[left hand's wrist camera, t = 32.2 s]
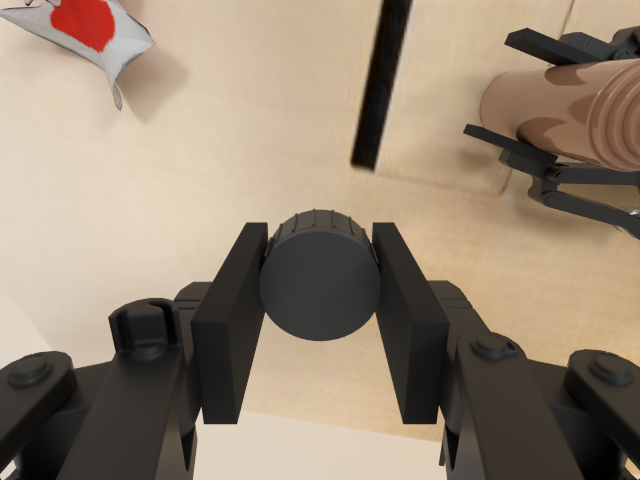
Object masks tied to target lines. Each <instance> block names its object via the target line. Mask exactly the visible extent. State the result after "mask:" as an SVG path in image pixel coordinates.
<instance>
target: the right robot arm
mask: <svg viewBox="0 0 640 480" xmlns="http://www.w3.org/2000/svg"><path fill="white" fill-rule="evenodd" d="M504 44H505V45H507V46H510V47H512V48H515V49H517V50H520V51H522V52H524V53H527V54H529V55H532V56H534V57H537V58H539V59H541V60H544V61H546V62H549V63H551V64H554V65H556V66H561V65H570V64H580V63H590V62H599V61H609V60H619V59H628V58H638V57H640V26H636V27H631V28H626V29H621V30H619V31H617V32H616V33H615V34H614V36H613V39H612V41H611V42H610V43H609V44H608V43H606V42H603V41H601V40H599V39H596V38H593V37H592V36H589V35H587V34H584V33H582V32H574V33H569V34H565V35H561V37H560V39H559V41H557V40H555V39H553V38H550V37H548V36H546V35H543V34H541V33H538V32H536V31H534V30H531V29H529V28H525V29H522V30H519V31H515V32H512V33H509V35H508V37H507V39H506V41H505V43H504ZM463 133H464V134H467V135H470V136H472V137H475V138H478V139H480V140H483V141H486V142H488V143H491V144H494V145H496V146H499V147H502V148H504V149H503V151H502V153H501V155H500V157H499V159H498V160H499V161H500V162H501V163H502V164H504V165H506V166H509V167H511V168H514V169H516V170H519V171H522V172H525V173H527V174H530V175H531V176H532V178H533V184H532V187H530V189H529V190H528V196H529V197H530V198H532V199H533V200H535V201H537V202H539V203H541V204H543V205H545V206H547V207H551V208H554V209H558V210H561V211H565V212H569V213H572V214H576V215H580V216H583V217H587V218H590V219H594V220H598V221H601V222H605V223H608V224H611V225H613V226H614V227H615V228H616V229H617V230H620V231H622V232H624V233H626V234H628V235H630V236H632V237H634V238H637V239H639V240H640V207H639V208H636V207H633V206H629V207H627V208H625V207H623V208H621V209H617V208H615V207H612V206H610V205H607V204H603V203H600V202H596V201H593V200H589V199H586V198H582V197H578V196H575V195H571V194H568V193H564V192H561V191H557V185H560V184H559V183H575V184H615V185H636V186H637V188H638V190H639V193H640V171H632V172H623V171H617V170H613V169H609V168H605V167H602V166H598V165H594V164H590V163H563V162H556V160H557V158H558V156H556V155H554V154H551V153H548V152H546V151H543V150H540V149H538V148H535V147H532V146H530V145H527V144H525V143H522V142H519V141H517V140H514V139H511V138H509V137H506V136H503V135H501V134H498V133H495V132H493V131H490V130H487V129H485V128H482V127H479V126H475V125H470V124H467V125H466V127H465V130H464V132H463Z"/></svg>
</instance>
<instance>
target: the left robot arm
mask: <svg viewBox="0 0 640 480" xmlns="http://www.w3.org/2000/svg"><path fill="white" fill-rule="evenodd" d="M372 244H373V246H374V249H375V252H376V255H377V258H378V261H379V265H378V267H379V270H380V273H381V290H380V301H379V304H378V306H377V308H376V310H375V313H376V317H377V321H378V325H379V329H380V333H381V337H382V341H383V345H384V349H385V353H386V357H387V361H388V365H389V369H390V373H391V377H392V381H393V385H394V389H395V393H396V397H397V401H398V405H399V409H400V413H401V417H402V421H403V424H436V423H437V415H438V408H439V406H440V409H441V411H442V414H443V417H444V419H445V426H444V433H443V440H442V447H441V454H440V460H439V465H440V466H444V463H445V464H446V472H447V480H637V479H636V478H635V477H634V476H633V475H632V474H631V473H630V472H629V471H628V470H627V469H626V467H625V464H626V461H627V459H628V458H629V459H630V460H631V461H632V462H633V463H634V464H635V466H636V467H637V468H638V469H639V470H640V367H638V366H637V365H635V364H634V363H632V362H631V361H629V360H626V359H624V358H622V357H620V356H618V355H616V354H613V353H610V352H608V353H607V352H606V351H601V350H589V349H584V350H579V351H575V352H574V353H573V354H571V355H570V357H569V361H568V364H567V367H563V366H558V365H553V364H548V363H543V362H538V361H534V360H530V359H527V357H526V355H525V353H524V351H523V350H522V349H521V347H520V346H519V345H518V344H517V343H515V342H514V341H512V340H511V339H509V338H508V337H505V336H503V335H500V334H498V333H494V332H490V330H489V329H488V327H487V326H486V325H485V323H484V322H483V320H482V319H481V318H480V316H479V315H478V313H477V312H476V311H475V309H473V306H472V305H471V304H470V302H469V301H468V300H467V298H466V297H465V295H464V294H463V292H462V291H461V290H460V289H459V288H458V287H456V286H455V285H453V284H452V283H450V282H448V281H427V280H426V278H425V277H424V275H423V273H422V271H421V270H420V268H419V266H418V264H417V263H416V261H415V259H414V257H413V255H412V254H411V252H410V250H409V248H408V247H407V245H406V243H405V241H404V240H403V238H402V236H401V234H400V233H399V231H398V229H397V227H396V226H395V224H394V223H373V230H372ZM267 245H268V225H267V223H246V224H245V226H244V228H243V230H242V231H241V233H240V235H239V237H238V238H237V240H236V242H235V244H234V245H233V247H232V249H231V251H230V252H229V254H228V256H227V258H226V259H225V261H224V263H223V265H222V267H221V268H220V270H219V272H218V274H217V275H216V277H215V279H214V281H213V282H192V283H191V284H189V285H188V286H186V287H185V288H183V289H182V290H180V292H179V293H178V294H177V296H176V297H175V299H174V301H172V300H169V299H165V298H148V299H142V300H137V301H134V302H131V303H128V304H125V305H124V306H122V307H120V308H118V309H117V310H115V311H114V312H113V313H112V314H111V315H110V316H109V317H108V319H109V323H110V328H111V332H112V337H113V341H114V346H115V350H116V353H115V355H114V358H113V360H112V361H109V362H105V363H101V364H96V365H91V366H86V367H81V368H76V369H74V367H73V363H72V359H71V357H70V356H68V355H67V354H66V353H63V352H58V351H49V352H39V353H35V354H31V355H27V356H24V357H23V358H21V359H19V360H16V361H14V362H12V363H10V364H8V365H7V366H5V367H4V368H2V369H1V370H0V473H1V472H2V471H3V470H4V469H5V468H6V467H7V466H8V464H9V463H10V462H11V461H12V460H14V463H15V465H16V469H15V470H14V471H13V472H12V473H11V475H10V476H9V477H7V478H6V479H5V480H193V473H194V465H195V456H196V448H197V433H196V426H195V422H196V419H197V417H198V414H199V411H200V409H201V406H202V413H203V420H204V424H237V422H238V418H239V414H240V410H241V406H242V402H243V398H244V394H245V390H246V386H247V382H248V378H249V374H250V370H251V366H252V362H253V358H254V354H255V350H256V346H257V342H258V338H259V334H260V330H261V326H262V322H263V318H264V314H265V310H264V308H263V306H262V303H261V300H260V286H259V275H260V271H261V267H262V264H263V262H264V259H265V258H263V257H264V254H265V251H266V248H267ZM0 480H1V479H0ZM639 480H640V479H639Z"/></svg>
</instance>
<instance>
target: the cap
mask: <svg viewBox="0 0 640 480" xmlns="http://www.w3.org/2000/svg"><path fill="white" fill-rule="evenodd" d="M263 258H265V259H264V262H263V264H262V267H261V271H260V275H259V286H260V300H261V303H262V306H263V308H264V310H265V312H266V313H267V315H268V316H269V317H270V319H271V320H272V321H273V322H274V323H275V324H276V325H277V326H278V327H280V328H281V329H282V330H284V331H285V332H287V333H289V334H291V335H293V336H296V337H298V338H302V339H306V340H312V341H329V340H334V339H339V338H342V337H345V336H347V335H349V334H351V333H353V332H355V331H356V330H358V329H359V328H361V327H362V326H363V325H364V324H365V323H366V322H367V321H368V320H369V319H370V318H371V316H372V315H373V314H374V312H375V310H376V308H377V306H378V304H379V301H380V290H381V273H380V270H379V267H378V265H379V261H378V258H377V255H376V252H375V249H374V246H373V244H372V243H370V241H369V238H368V237H367V235H366V232H365V229H364V228H363V229H362V228H361V227H360V226H359V225H358V224H357V223H356V222H355V221H353V220H352V218H351V217H350V216H349V217H347V216H345V215H343V214H340V213H338V212H334V210H332V211H329V210H315V209H313V210H311V211H306V212H303V213H300V214H297V213H296V214H295V216H293V217H292V218H290V219H288V220H287V221H286V222H284V223H283V224H282V223H281V224H280V226H279V228H278V230H277V231H276V232H275V234H274V235H273V237H270V240H269V242H268V245H267V248H266V251H265V254H264V257H263Z"/></svg>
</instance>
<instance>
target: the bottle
mask: <svg viewBox="0 0 640 480" xmlns="http://www.w3.org/2000/svg"><path fill="white" fill-rule="evenodd" d="M480 117H481V121H482V124H483V126H484V128H485V129H487V130H490V131H493V132H495V133H498V134H501V135H503V136H506V137H509V138H511V139H514V140H517V141H519V142H522V143H525V144H527V145H530V146H532V147H535V148H538V149H540V150H543V151H546V152H550V153H554V154H557V155H561V156H565V157H568V158H572V159H576V160H579V161H583V162H587V163H590V164H594V165H598V166H602V167H605V168H609V169H613V170H617V171H623V172H632V171H640V57H638V58H628V59H619V60H609V61H599V62H590V63H580V64H570V65H561V66H551V67H541V68H532V69H522V70H514V71H510V72H507V73H504V74H502V75H501V76H499V77H498V78H496V79H495V80H494V81H493V82H492V83H491V84H490V85H489V87H488V88H487V90H486V91H485V93H484V95H483V98H482V100H481V105H480Z"/></svg>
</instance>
